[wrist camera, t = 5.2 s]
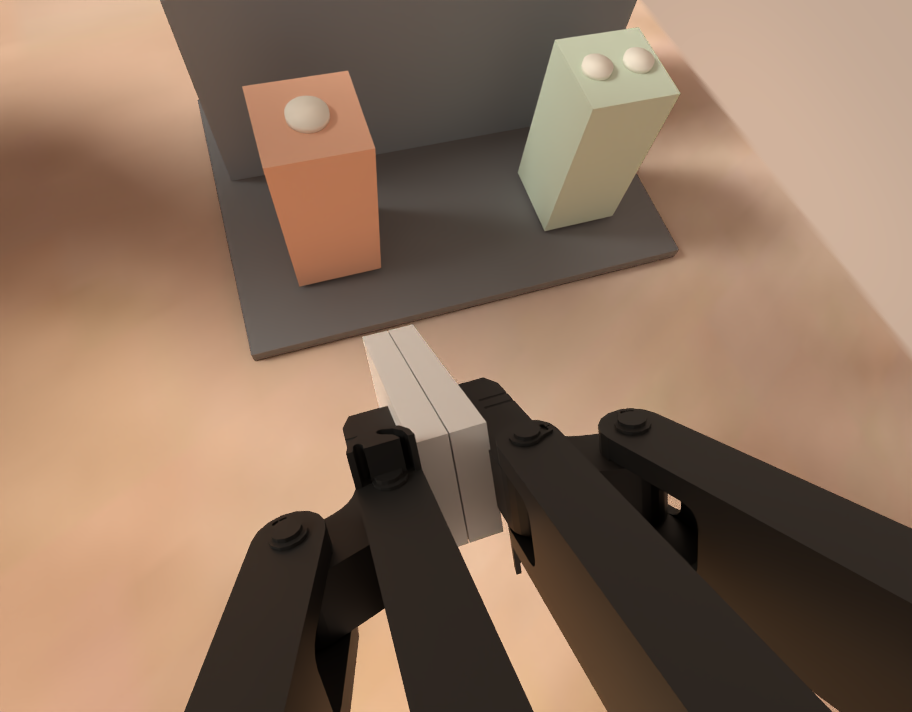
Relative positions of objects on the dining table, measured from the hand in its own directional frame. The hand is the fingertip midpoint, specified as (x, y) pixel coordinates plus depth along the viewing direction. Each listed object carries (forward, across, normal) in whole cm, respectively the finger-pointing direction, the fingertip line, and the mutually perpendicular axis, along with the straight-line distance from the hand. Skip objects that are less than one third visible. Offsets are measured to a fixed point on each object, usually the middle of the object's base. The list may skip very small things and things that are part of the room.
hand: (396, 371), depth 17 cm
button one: (+20, 0, +1) cm, 20 cm away
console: (+24, +8, +3) cm, 25 cm away
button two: (+20, +16, +1) cm, 26 cm away
